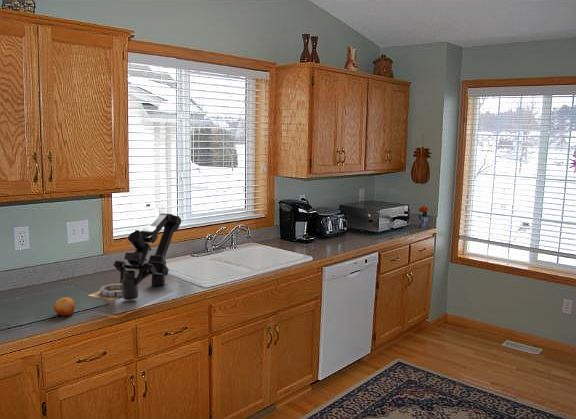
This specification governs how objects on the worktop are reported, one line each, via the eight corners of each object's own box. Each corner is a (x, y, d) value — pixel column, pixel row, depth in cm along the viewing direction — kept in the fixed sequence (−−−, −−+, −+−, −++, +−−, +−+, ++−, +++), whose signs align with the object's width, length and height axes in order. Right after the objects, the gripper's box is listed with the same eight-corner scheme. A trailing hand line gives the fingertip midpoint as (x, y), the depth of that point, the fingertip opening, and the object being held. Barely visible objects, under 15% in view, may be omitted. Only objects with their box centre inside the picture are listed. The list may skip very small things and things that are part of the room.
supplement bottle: (132, 294, 232) (131, 268, 230) (141, 297, 228) (140, 271, 226) (119, 297, 227) (118, 271, 225) (127, 301, 223) (127, 274, 221)
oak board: (116, 286, 250) (116, 285, 250) (138, 291, 244) (138, 289, 244) (87, 296, 234) (87, 295, 234) (111, 302, 228) (111, 300, 228)
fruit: (79, 306, 217) (75, 294, 212) (74, 321, 211) (69, 309, 206) (60, 306, 217) (55, 293, 212) (54, 321, 211) (49, 308, 206)
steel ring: (114, 286, 247) (114, 282, 247) (136, 291, 242) (136, 286, 241) (93, 294, 235) (93, 289, 235) (115, 299, 230) (115, 294, 229)
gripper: (115, 243, 230) (101, 273, 221) (152, 246, 225) (140, 277, 217) (125, 255, 239) (112, 285, 230) (161, 259, 234) (149, 289, 226)
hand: (128, 284), depth 225 cm, fingers closed on supplement bottle, 7 cm apart
